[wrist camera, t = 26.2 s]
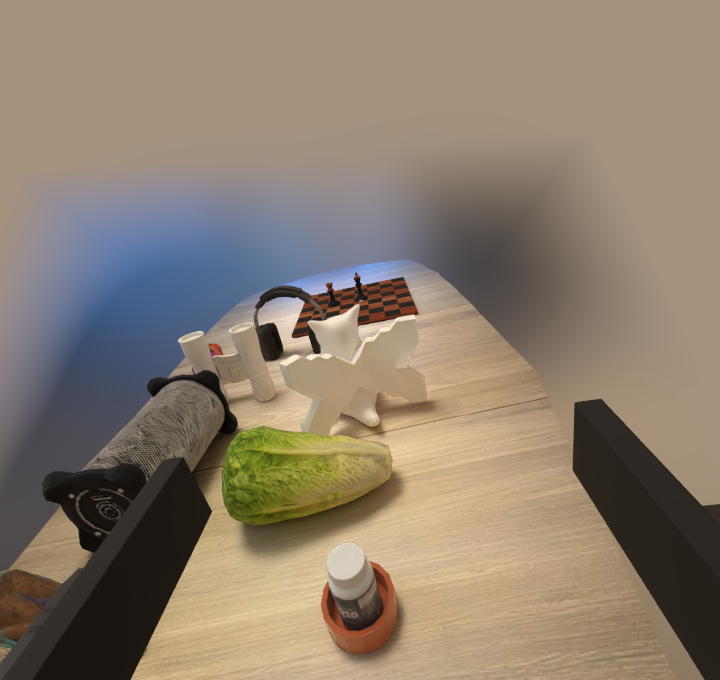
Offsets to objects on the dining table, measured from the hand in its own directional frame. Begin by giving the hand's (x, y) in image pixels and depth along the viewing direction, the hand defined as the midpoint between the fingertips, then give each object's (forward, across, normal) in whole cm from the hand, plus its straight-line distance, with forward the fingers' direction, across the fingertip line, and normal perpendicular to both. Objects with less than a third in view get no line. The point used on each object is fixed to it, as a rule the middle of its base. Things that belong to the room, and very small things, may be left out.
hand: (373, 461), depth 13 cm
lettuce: (+31, -16, -34) cm, 49 cm away
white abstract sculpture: (+54, -11, -34) cm, 65 cm away
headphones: (+84, -30, -34) cm, 96 cm away
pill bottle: (+15, -8, -34) cm, 38 cm away
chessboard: (+117, -16, -34) cm, 123 cm away
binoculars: (+63, -40, -34) cm, 82 cm away
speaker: (+39, -43, -34) cm, 68 cm away
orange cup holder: (+15, -8, -34) cm, 38 cm away
